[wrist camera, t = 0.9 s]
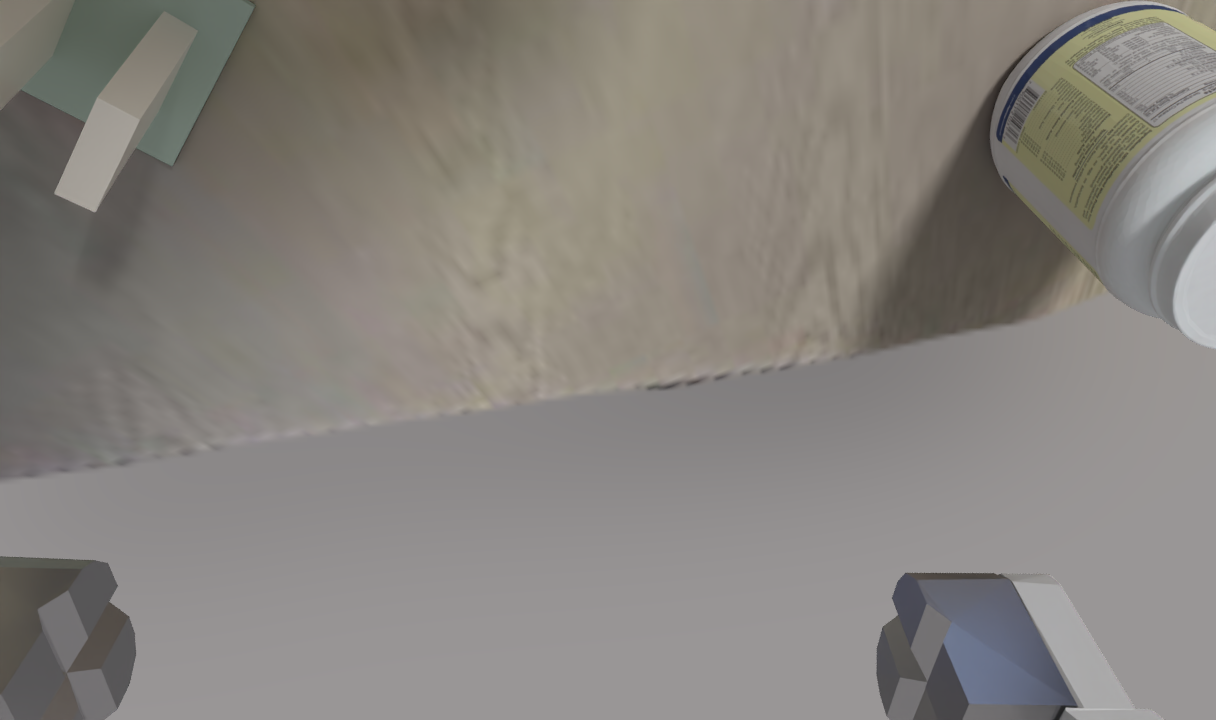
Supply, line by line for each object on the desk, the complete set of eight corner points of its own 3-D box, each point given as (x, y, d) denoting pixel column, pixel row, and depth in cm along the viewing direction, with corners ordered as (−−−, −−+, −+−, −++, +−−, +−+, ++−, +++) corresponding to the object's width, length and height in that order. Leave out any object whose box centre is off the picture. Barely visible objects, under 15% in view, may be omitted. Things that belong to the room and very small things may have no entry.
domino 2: (125, 94, 44) (54, 193, 36) (163, 10, 42) (96, 97, 34) (158, 112, 45) (95, 212, 37) (198, 30, 42) (139, 119, 35)
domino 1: (15, 36, 41) (-85, 129, 34) (50, -56, 39) (-49, 21, 32) (52, 56, 42) (-39, 151, 35) (88, -34, 40) (0, 47, 32)
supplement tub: (1195, 136, 54) (1426, 297, 41) (1000, 226, 56) (1159, 404, 43) (1186, -52, 46) (1466, 72, 33) (961, 61, 49) (1140, 218, 36)
